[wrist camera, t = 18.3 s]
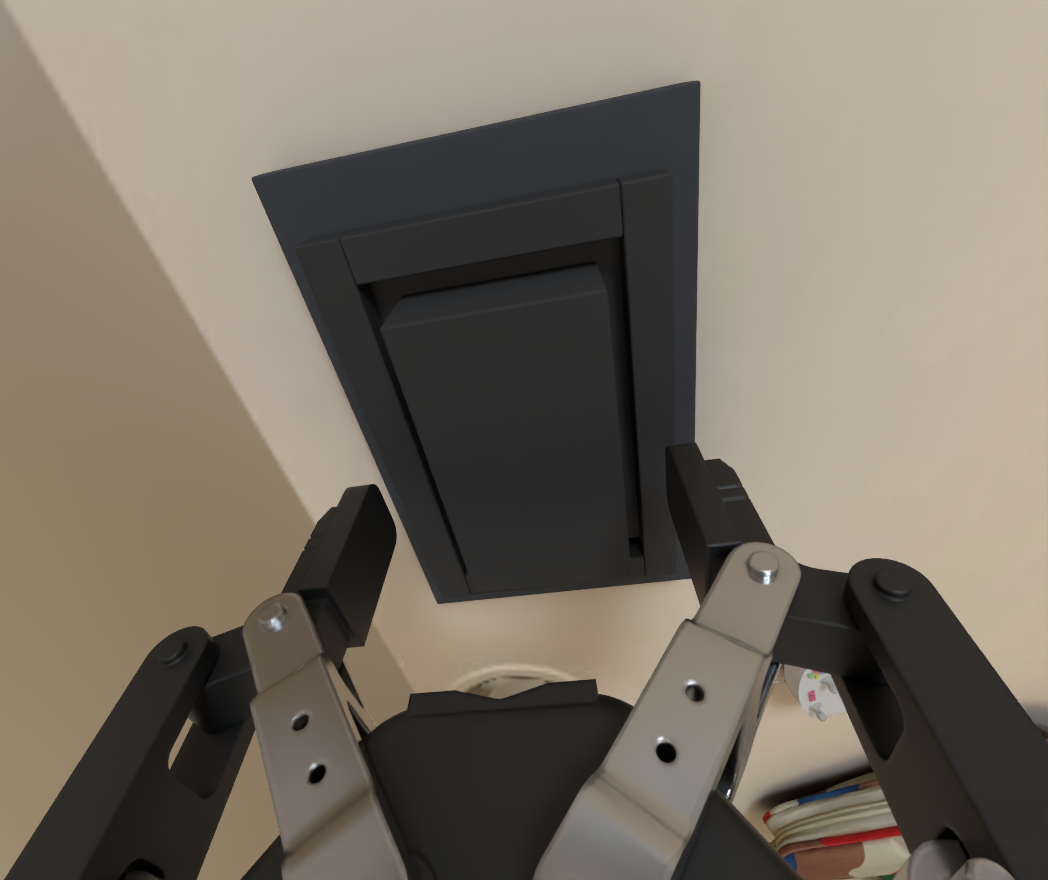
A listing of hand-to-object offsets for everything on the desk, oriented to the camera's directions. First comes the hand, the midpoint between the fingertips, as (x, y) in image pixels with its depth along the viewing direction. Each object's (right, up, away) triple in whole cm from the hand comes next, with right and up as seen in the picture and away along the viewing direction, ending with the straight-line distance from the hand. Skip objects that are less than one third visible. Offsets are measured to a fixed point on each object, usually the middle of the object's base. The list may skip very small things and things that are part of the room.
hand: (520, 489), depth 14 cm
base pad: (0, +2, +4) cm, 4 cm away
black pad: (0, +2, +3) cm, 3 cm away
